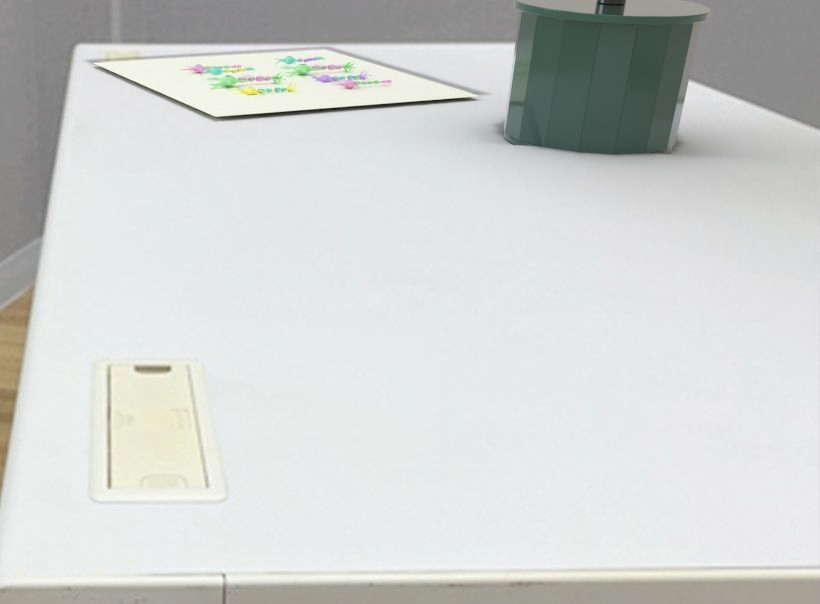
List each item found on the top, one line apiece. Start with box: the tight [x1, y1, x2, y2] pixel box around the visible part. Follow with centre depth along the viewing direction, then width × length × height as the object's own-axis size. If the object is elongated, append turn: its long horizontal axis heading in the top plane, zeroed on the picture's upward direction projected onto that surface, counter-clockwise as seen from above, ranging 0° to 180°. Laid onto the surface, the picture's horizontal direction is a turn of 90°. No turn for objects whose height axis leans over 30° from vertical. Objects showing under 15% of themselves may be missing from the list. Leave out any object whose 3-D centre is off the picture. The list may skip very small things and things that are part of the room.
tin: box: [503, 10, 702, 155], centre depth 104 cm, size 15×15×10 cm
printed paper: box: [93, 49, 479, 118], centre depth 127 cm, size 30×30×2 cm
